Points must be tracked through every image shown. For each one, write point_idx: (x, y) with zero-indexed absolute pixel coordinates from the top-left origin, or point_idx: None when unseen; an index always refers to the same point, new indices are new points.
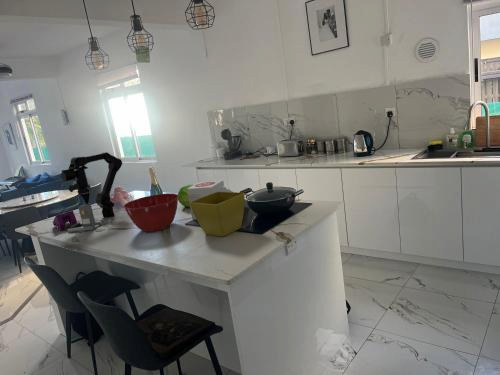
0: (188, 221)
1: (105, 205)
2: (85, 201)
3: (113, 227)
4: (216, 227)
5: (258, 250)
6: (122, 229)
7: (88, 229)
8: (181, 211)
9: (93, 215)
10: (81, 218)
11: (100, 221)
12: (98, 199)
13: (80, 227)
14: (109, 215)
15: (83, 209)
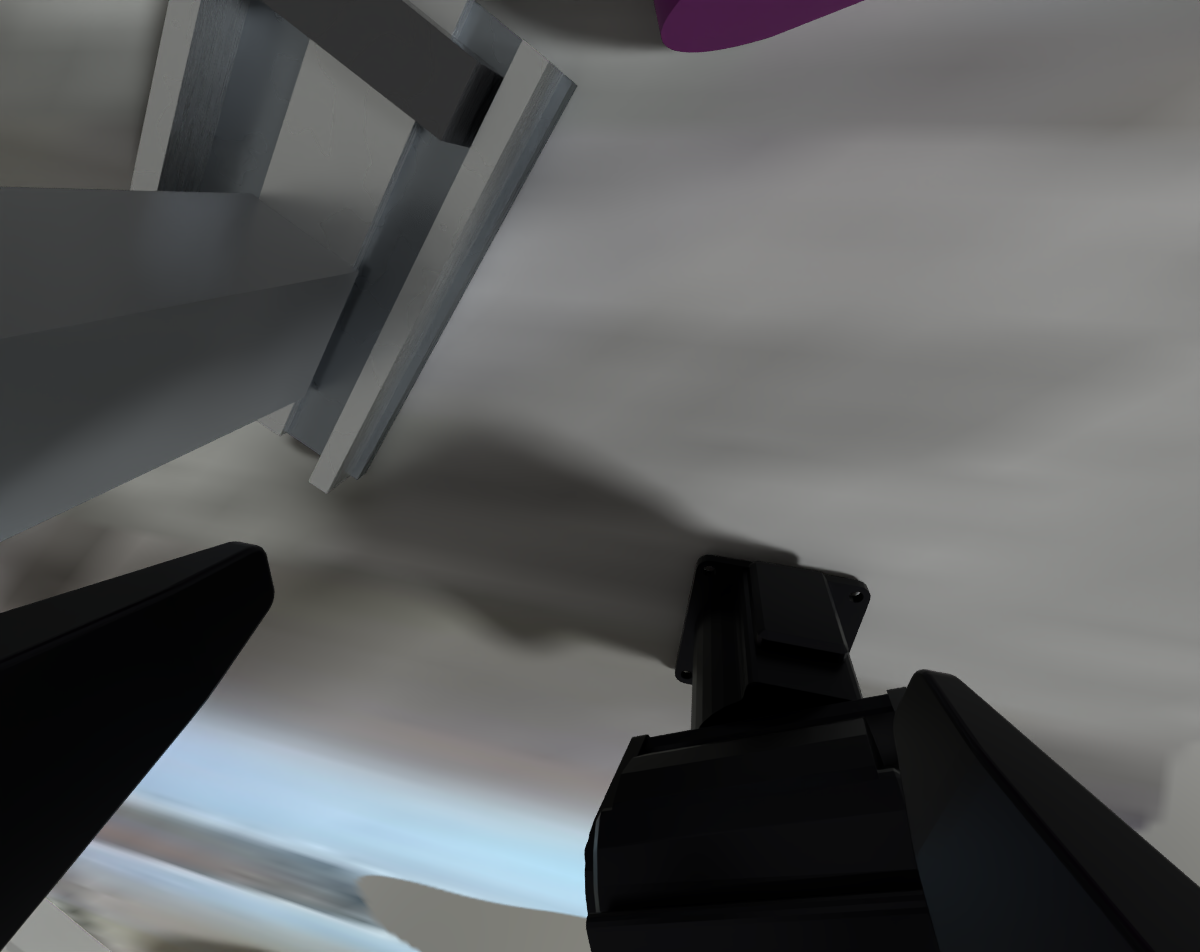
0: None
1: (611, 783)
2: (86, 605)
3: (135, 542)
4: None
5: None
6: (15, 585)
7: None
8: (268, 946)
9: (164, 461)
10: (59, 197)
11: (320, 482)
12: (713, 910)
13: (165, 135)
14: (694, 640)
15: None
